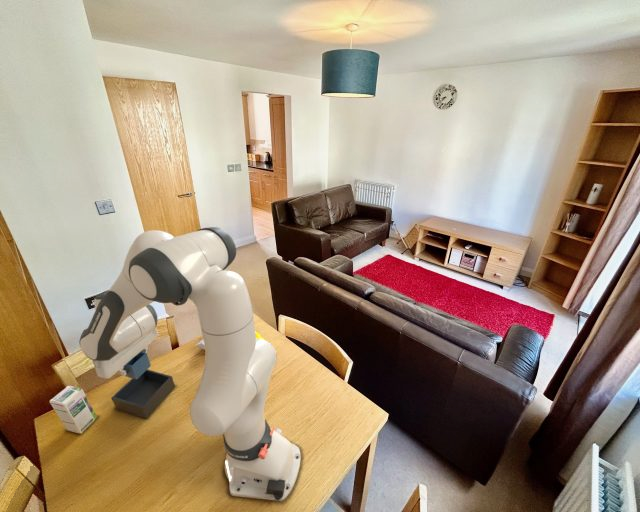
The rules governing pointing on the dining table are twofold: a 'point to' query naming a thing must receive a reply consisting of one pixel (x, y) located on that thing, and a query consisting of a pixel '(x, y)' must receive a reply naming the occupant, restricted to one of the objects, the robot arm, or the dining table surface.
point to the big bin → (143, 393)
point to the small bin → (137, 365)
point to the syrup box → (73, 409)
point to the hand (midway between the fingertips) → (135, 365)
